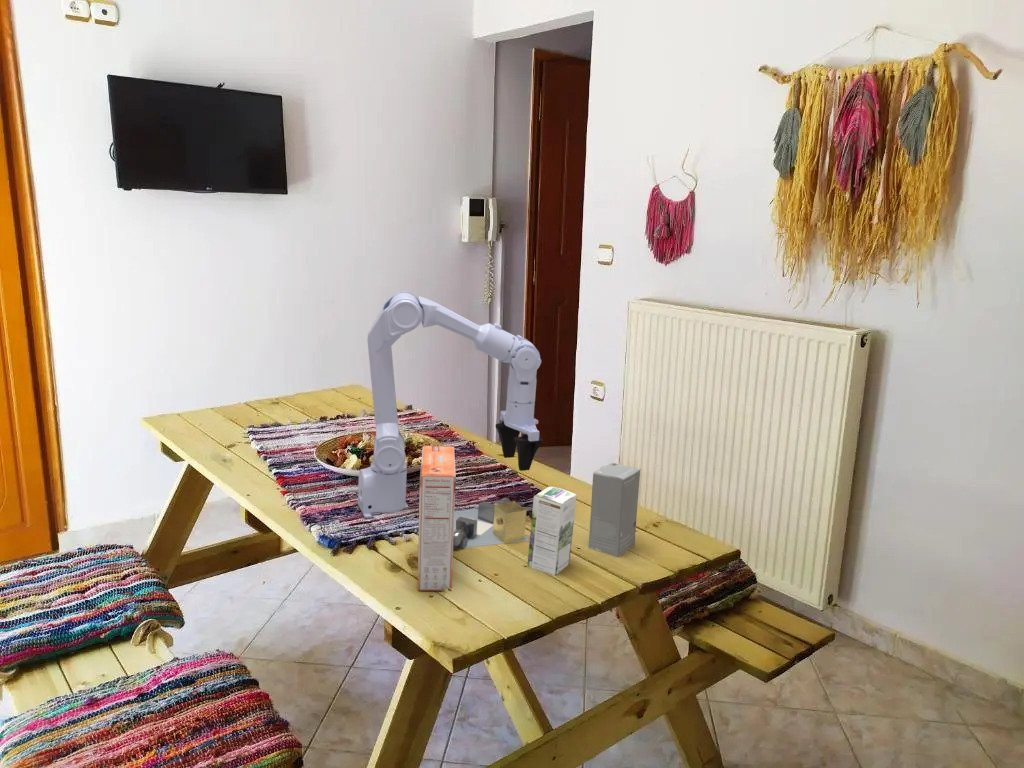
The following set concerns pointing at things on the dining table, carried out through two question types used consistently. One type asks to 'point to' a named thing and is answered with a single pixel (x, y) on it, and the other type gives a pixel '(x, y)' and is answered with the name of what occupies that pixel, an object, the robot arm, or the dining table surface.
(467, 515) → the board
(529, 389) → the robot arm
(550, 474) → the dining table surface
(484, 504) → the shaft
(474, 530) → the shaft
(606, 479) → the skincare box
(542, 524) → the syrup box
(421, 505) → the cracker box
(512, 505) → the tan block
